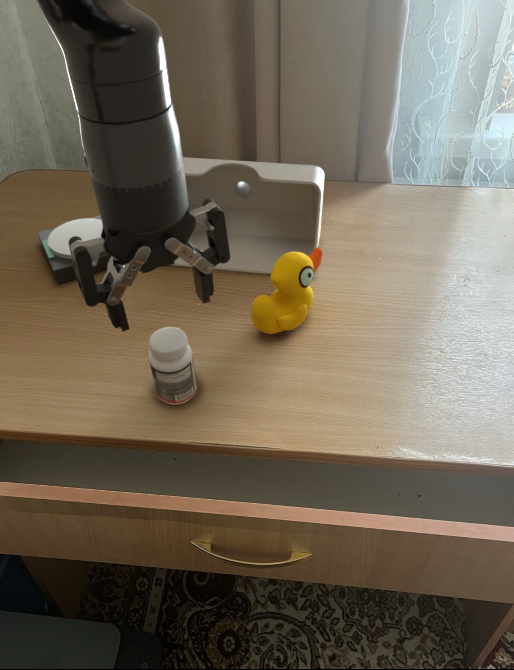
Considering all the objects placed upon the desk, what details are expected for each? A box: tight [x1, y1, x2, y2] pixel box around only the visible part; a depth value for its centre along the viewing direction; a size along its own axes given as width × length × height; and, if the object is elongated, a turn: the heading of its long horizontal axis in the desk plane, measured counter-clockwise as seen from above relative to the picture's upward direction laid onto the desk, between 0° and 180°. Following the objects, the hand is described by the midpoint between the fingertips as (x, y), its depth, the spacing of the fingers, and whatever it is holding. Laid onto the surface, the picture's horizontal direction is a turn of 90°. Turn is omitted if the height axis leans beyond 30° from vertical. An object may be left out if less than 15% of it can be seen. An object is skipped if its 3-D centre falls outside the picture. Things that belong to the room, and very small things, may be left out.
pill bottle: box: [148, 326, 198, 406], centre depth 61 cm, size 5×5×8 cm
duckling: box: [250, 247, 323, 335], centre depth 69 cm, size 11×5×10 cm, turn 133°
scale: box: [36, 215, 111, 285], centre depth 83 cm, size 11×11×3 cm
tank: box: [171, 156, 325, 275], centre depth 82 cm, size 25×16×12 cm, turn 80°
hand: (164, 311), depth 56 cm, fingers open, 8 cm apart
